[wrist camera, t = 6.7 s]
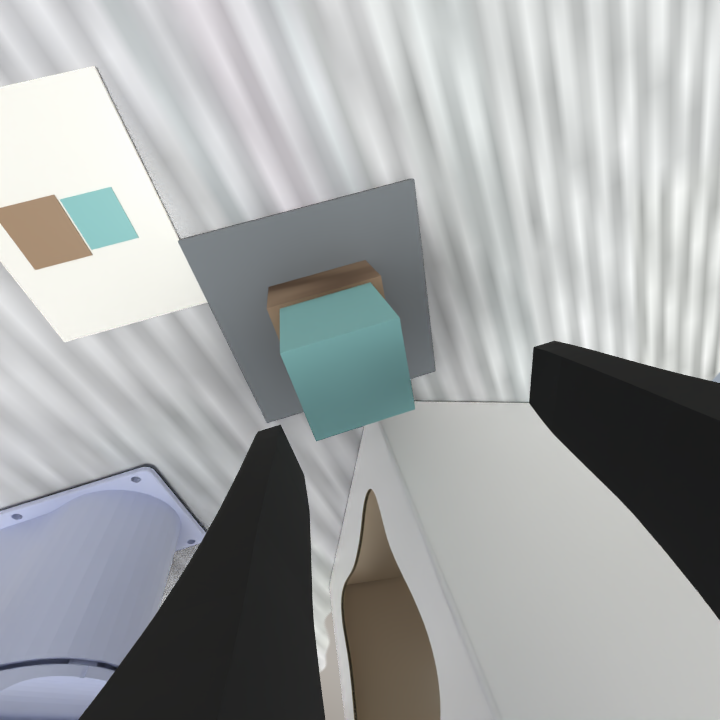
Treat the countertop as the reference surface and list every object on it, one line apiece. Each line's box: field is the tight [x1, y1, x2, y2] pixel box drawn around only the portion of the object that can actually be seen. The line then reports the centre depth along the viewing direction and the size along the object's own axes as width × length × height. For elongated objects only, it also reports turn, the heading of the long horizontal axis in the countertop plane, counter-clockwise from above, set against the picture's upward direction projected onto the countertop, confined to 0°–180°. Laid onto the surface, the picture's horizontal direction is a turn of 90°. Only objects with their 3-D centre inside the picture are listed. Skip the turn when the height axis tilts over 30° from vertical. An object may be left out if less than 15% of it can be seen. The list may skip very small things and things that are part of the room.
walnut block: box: [267, 260, 385, 341], centre depth 16 cm, size 5×5×3 cm
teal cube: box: [280, 282, 415, 441], centre depth 13 cm, size 4×4×4 cm
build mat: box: [178, 179, 435, 423], centre depth 18 cm, size 11×11×1 cm
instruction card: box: [0, 66, 208, 342], centre depth 14 cm, size 7×9×1 cm
